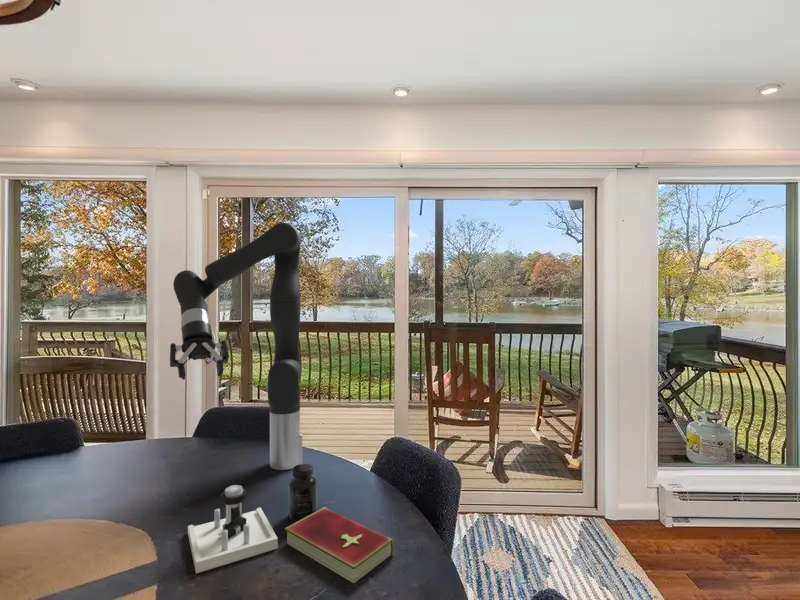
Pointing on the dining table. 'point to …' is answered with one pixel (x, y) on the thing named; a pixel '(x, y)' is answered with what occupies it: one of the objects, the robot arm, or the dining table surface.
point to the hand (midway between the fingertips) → (202, 376)
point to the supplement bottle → (302, 492)
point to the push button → (233, 510)
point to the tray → (230, 541)
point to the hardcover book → (339, 543)
